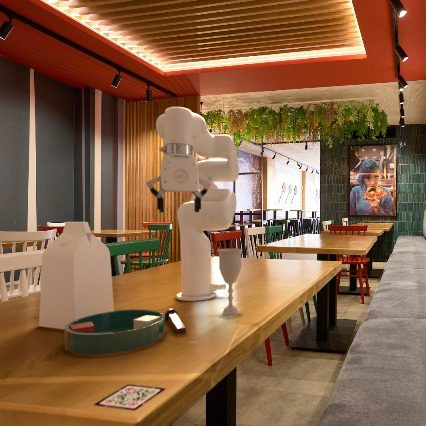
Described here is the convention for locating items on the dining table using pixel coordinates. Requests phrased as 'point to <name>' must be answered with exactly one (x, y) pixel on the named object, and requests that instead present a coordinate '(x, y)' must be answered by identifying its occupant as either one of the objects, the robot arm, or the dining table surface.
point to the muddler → (175, 321)
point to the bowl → (114, 332)
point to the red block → (83, 327)
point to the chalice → (230, 274)
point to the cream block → (145, 321)
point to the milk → (75, 277)
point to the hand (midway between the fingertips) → (179, 212)
